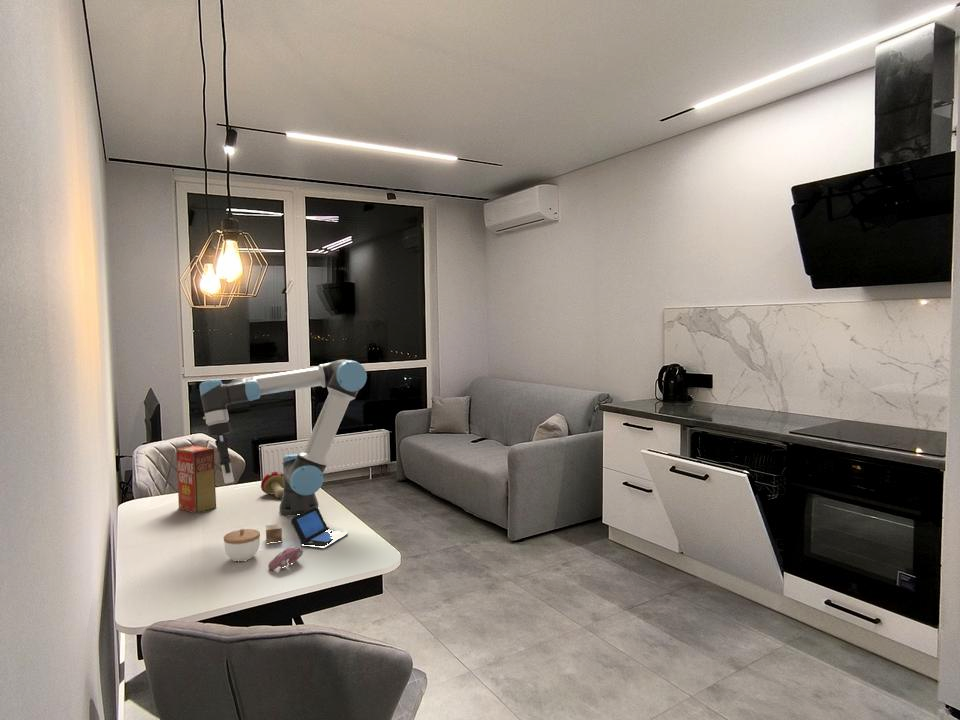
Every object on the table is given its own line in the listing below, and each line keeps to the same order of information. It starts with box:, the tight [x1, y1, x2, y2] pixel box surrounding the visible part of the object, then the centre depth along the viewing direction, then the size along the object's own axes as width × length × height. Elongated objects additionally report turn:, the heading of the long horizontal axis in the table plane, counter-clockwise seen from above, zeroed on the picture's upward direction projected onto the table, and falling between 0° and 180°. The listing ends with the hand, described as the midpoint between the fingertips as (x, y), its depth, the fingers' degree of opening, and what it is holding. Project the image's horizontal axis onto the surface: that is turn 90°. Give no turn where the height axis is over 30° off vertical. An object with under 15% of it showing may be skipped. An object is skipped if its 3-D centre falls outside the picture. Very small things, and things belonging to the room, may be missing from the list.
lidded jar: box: [223, 528, 261, 563], centre depth 186 cm, size 11×11×9 cm
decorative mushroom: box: [260, 471, 284, 499], centre depth 258 cm, size 11×11×15 cm
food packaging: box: [175, 445, 217, 514], centre depth 240 cm, size 13×9×25 cm
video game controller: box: [268, 545, 304, 570], centre depth 180 cm, size 10×5×7 cm, turn 148°
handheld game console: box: [290, 508, 333, 546], centre depth 203 cm, size 16×13×9 cm
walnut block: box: [265, 523, 283, 543], centre depth 202 cm, size 5×5×5 cm
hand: (229, 482), depth 205 cm, fingers open, 13 cm apart
